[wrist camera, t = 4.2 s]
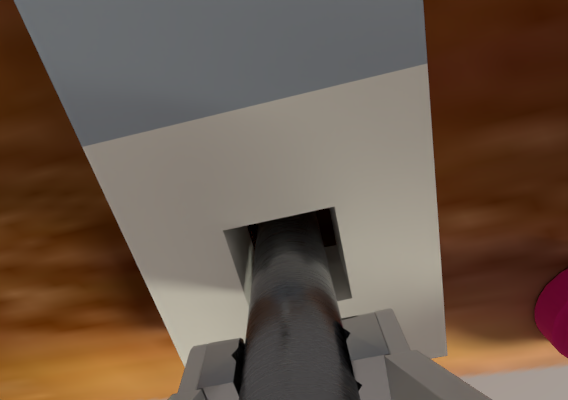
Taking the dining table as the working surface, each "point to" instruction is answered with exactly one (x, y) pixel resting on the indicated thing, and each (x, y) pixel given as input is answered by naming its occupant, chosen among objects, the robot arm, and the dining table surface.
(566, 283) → the pepper mill
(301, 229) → the lock pin
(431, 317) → the pin board
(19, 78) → the dining table surface
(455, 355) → the dining table surface
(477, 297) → the dining table surface
